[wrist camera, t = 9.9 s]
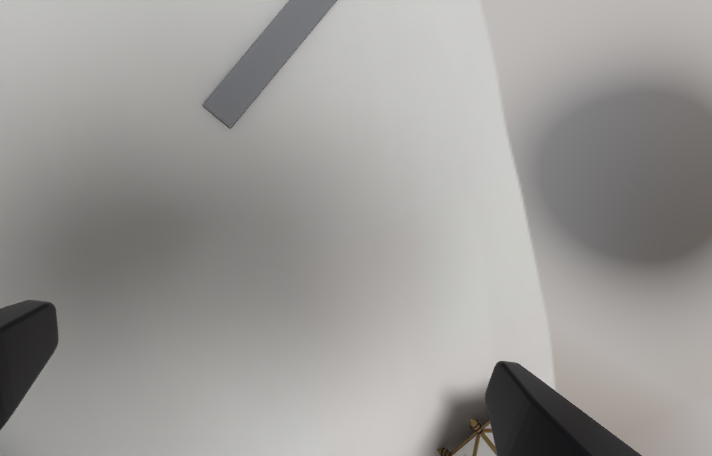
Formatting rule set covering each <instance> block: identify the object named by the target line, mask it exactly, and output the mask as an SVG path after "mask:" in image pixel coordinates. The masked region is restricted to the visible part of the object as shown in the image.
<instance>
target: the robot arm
mask: <svg viewBox="0 0 712 456" xmlns="http://www.w3.org/2000/svg"><path fill="white" fill-rule="evenodd" d="M57 344H58V326H57V316H56V308H55V306H54V305H53V304H52V303H50V302H43V301H35V300H27V301H24V302H20V303H17V304H14V305H11V306H7V307H4V308H1V309H0V430H1V429H2V427H3V426H4V425H5V424H6V422H7V421H8V420H9V418H10V417H11V415H12V414H13V412H14V411H15V410H16V408H17V407H18V405H19V404H20V402H21V401H22V399H23V398H24V396H25V395H26V393H27V392H28V390H29V389H30V387H31V386H32V384H33V383H34V381H35V380H36V378H37V377H38V375H39V374H40V372H41V371H42V369H43V368H44V366H45V365H46V363H47V362H48V360H49V359H50V357H51V356H52V354H53V353H54V351H55V349H56V347H57ZM485 400H486V406H487V411H488V415H489V420H490V425H491V429H492V434H493V439H494V443H495V448H496V453H497V456H641V455H640V454H639V453H638V452H636V451H635V450H633V449H632V448H631V447H629V446H628V445H627V444H625V443H624V442H623V441H621V440H620V439H619V438H617V437H616V436H615V435H613V434H612V433H611V432H609V431H608V430H607V429H605V428H604V427H603V426H601V425H600V424H599V423H597V422H596V421H595V420H593V419H592V418H591V417H589V416H588V415H587V414H585V413H584V412H583V411H581V410H580V409H579V408H577V407H576V406H575V405H573V404H572V403H570V402H569V401H568V400H567V399H565V398H564V397H563V396H561V395H560V394H559V393H557V392H556V391H555V390H553V389H552V388H551V387H549V386H548V385H547V384H545V383H544V382H543V381H541V380H540V379H539V378H537V377H536V376H535V375H533V374H532V373H531V372H529V371H528V370H527V369H525V368H524V367H523V366H521V365H520V364H518V363H515V362H507V361H499V362H498V363H497V364H496V365H495V367H494V370H493V373H492V376H491V378H490V381H489V384H488V387H487V390H486V394H485Z"/></svg>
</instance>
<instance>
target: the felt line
mask: <svg viewBox="0 0 712 456" xmlns="http://www.w3.org/2000/svg"><path fill="white" fill-rule="evenodd" d="M336 1H337V0H290V1H289V2H288V3H287V4H286V5H285V7H284V8H283V9H282V10H281V11H280V13H279V14H278V15H277V16H276V17H275V19H274V20H273V21H272V22H271V23H270V25H269V26H268V27H267V28H266V29H265V31H264V32H263V33H262V34H261V35H260V37H259V38H258V39H257V40H256V41H255V43H254V44H253V45H252V46H251V47H250V49H249V50H248V51H247V52H246V53H245V55H244V56H243V57H242V58H241V59H240V61H239V62H238V63H237V64H236V65H235V67H234V68H233V69H232V70H231V71H230V73H229V74H228V75H227V76H226V77H225V79H224V80H223V81H222V82H221V83H220V85H219V86H218V87H217V88H216V89H215V91H214V92H213V93H212V94H211V95H210V97H209V98H208V99H207V100H206V101H205V103H204V104H203V106H204V107H205V108H206V109H208V110H209V111H210V112H211V113H213V114H214V115H215V116H216V117H217V118H219V119H220V120H221V121H222V122H223V123H225V124H226V125H227V126H228V127H230V128H231V127H232V126H233V125H234V124H235V122H236V121H237V120H238V119H239V118H240V116H241V115H242V114H243V113H244V112H245V110H246V109H247V108H248V107H249V106H250V104H251V103H252V102H253V101H254V100H255V98H256V97H257V96H258V95H259V94H260V92H261V91H262V90H263V89H264V87H265V86H266V85H267V84H268V83H269V81H270V80H271V79H272V78H273V77H274V75H275V74H276V73H277V72H278V71H279V69H280V68H281V67H282V66H283V65H284V63H285V62H286V61H287V60H288V59H289V57H290V56H291V55H292V54H293V53H294V51H295V50H296V49H297V48H298V46H299V45H300V44H301V43H302V42H303V40H304V39H305V38H306V37H307V36H308V34H309V33H310V32H311V31H312V30H313V28H314V27H315V26H316V25H317V24H318V22H319V21H320V20H321V19H322V18H323V16H324V15H325V14H326V13H327V11H328V10H329V9H330V8H331V7H332V5H333V4H334V3H335V2H336Z"/></svg>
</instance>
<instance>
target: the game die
mask: <svg viewBox="0 0 712 456" xmlns="http://www.w3.org/2000/svg"><path fill="white" fill-rule="evenodd" d="M469 427H471V428H472V430H473V431H475V433H474V434H472V435H471V436H470V437H469V438H468V439H467V440H466V441H464V442H463V443H462V444H461V445H460V446H459V447H457V448H456V449H455V450H454V451H453V452H452V453H451V452H449V451H448V449H447V450H446V449H445V448H444V447H443V448H442V449H439V450H438V452H439V453H440V455H441V456H497V453H496V448H495V443H494V439H493V434H492V429H491V425H490V420H489V421H488V422H486V423H485V424H484V425H483V426H482V427H481V425H480V423H478V420H474V419H470V426H469Z"/></svg>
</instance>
